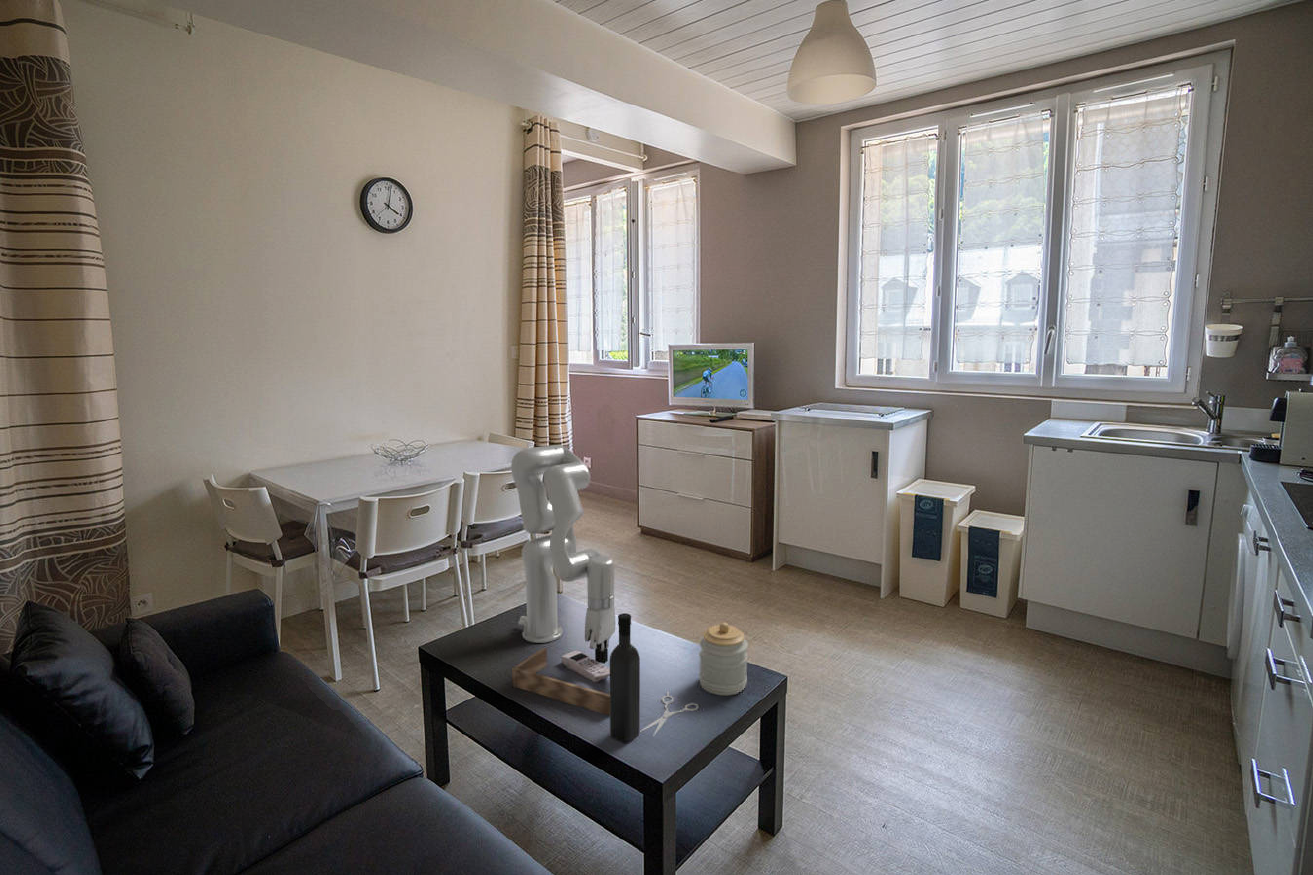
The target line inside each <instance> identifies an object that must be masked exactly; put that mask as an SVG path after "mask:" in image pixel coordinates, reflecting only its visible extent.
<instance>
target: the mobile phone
mask: <svg viewBox="0 0 1313 875" xmlns="http://www.w3.org/2000/svg"><path fill="white" fill-rule="evenodd" d="M561 663H563V665H565V666H566V667H567V669H568V670H572V671H574V672H575V673H577V674H579V675H581V676H582V675H583V676H582V677H584V678H586V679H588V680H590V681H592V682H593V683H598V682H600V681H602V680H604V679H606V678H608V677H610V667H607V666H606V665H605V664H603V663H599V662H597V661H595V659H593V658H592V657H591V656H589V655H587V654H586V653H583V652H582V651H578V650H574V651H571V652H569V653H566V654H564V655H562V656H561Z"/></svg>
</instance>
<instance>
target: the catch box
mask: <svg viewBox="0 0 1313 875" xmlns="http://www.w3.org/2000/svg"><path fill="white" fill-rule="evenodd" d="M547 652H548V650H547V648H546V647H542V649H540V650H538V651H537V652H535V653H534V654H532V655H530V656H529V657H528V658H526V659H525V660H523V661H522V662H520V663H519V664H518V665H516V666H514V667H513V668H512V669H511V670H512V671H511V672H512V687H515V688H518V689H521V690H523V691H528V692H530V693H535V694H538V695H540V696H544V697H547V698H551V699H553V700H558V701H561V702H565V703H567V704H571V705H574V706H577V707H581V708H584V709H586V710H591V711H593V710H594V711H593V712H597V713H600V714H603V715H607V716H610V693H606V692H602V691H598V690H595V689H592V688H588V687H585V686H582V685H578V684H574V683H571V682H569V681H568V682H567V681H564V680H562V679H561V680H560V679H557V678H554V677H551V676H546V675H543V674H539V673H537V672H539V671H540V670H541V669H542V670H543V668H544V667H546V666H547V665H548V664H547V662H548V661H547V660H548V659H547V658H548V656H547Z"/></svg>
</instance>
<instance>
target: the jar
mask: <svg viewBox="0 0 1313 875" xmlns="http://www.w3.org/2000/svg"><path fill="white" fill-rule="evenodd" d="M745 637H746V636H745V634H744V632H743V631H742V630H740V629H739V628H737V627H735V626H734V625H733V626H732V625H729V624H728V623H727V622H721V623H720V624H716V625H713V626H710V627H709V628H707V629H705V630H704V632H703V633H702V638H701V639H700V641H699V645H700V648H701V650H700V651H699V674H698V675H699V677H698V679H699V684H700V686H701V688H702V689H703V690H705V691H706V692H708V693H710V694H713V695H715V696H734V695H737V694H740V693H741V692H743V691H744V690H745V689H746V687H747V683H748V682H747V681H748V676H747V665H748V664H747V662H748V654H747V649H748V647H749V645H748V642H747V640H746V638H745ZM745 686H746V687H745ZM744 688H745V689H744ZM742 690H743V691H742ZM739 692H740V693H739Z"/></svg>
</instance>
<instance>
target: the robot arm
mask: <svg viewBox="0 0 1313 875" xmlns="http://www.w3.org/2000/svg"><path fill="white" fill-rule="evenodd" d="M510 468H511V476H512V478H513V480H514V481H513V482H514V484H515V486H516V489H517V493H518V500H519V507H520V515H521V521H522V525H523V526H522V527H523V529H524V531H525V532H526V533H528V534H531V535H536V534H541V533H547V532H550V531H551V534H548V535H544V536H540V537H535V538H533V539H531V540H528V541H527V542H526V543H525V544H524V545H523V547H522V550H521V556H522V557H521V558H522V562H523V566H524V572H525V589H526V597H525V598H526V615H520V618H519V621H518V625H519V626H523V627H524V629H523V630H522V632H521V634H522V638H523V639H524V640H525V641H527V642H530V643H535V644H536V643H537V644H539V643H541V644H543V643H550V642H554V641H555V640H556V641H557V640H558V639H559V638H561V637H562V636H563V633H564V632H563V627H561V625H559V623H558V583H557V582H558V580H557V577H558V578H559V579H560V581H562V582H564V583H571V582H575V581H578V580H580V579H581V580H582V579H584V578H586V579H587V584H586V585H587V586H586V587H587V591H586V592H587V608H586V611H585V612H586V613H585V622H584V641H585V642H587V643H588V642H589V649H591V650H594V658H595V659H594V660H595V661H597V662H599V663H600V664H602V665H605V664H606V663H607V662H608V660H609V658H608V656H609V655H608V653H609V649H608V648H609V646H610V645H609V643H610V638H611V637H612V636H613V635H614V634H615V632H616V608H615V563H614V560H613V559H612V558H611V557H609V556H605V555H603V554H602V553H600V552H599V551H598V550H596V549H594V548H593V549H592V548H588V549H584V550H581V551H577V541H576V534H575V526H574V524H576V523H577V522H578V521H579V520H580V519H582V517H583V516H584V509H583V506H582V502H581V500H580V495H579V493H578V491H579V490H584V489H586V488H588V487H589V485H591V484H590V483H591V473H590V470H589V468H588V466H587V465H586V464H585V463H584V461H583V460H582V459H580V458H579V457H578V456H577V455H576V454H574V453H573V451H571V449H569V448H567V447H566V446H565V445H561V444H553V445H545V446H536V447H530V448H529V447H528V448H525V449H522V450H520V451H517V452H516V453H515V454H514V456H513V457H512V460H511V464H510ZM539 475H543V481H542V480H541V479H540V477H538V476H539ZM543 482H544V483H543ZM552 567H553V568H554V570H555V573H556V575H557V577H556V576H555V574H554V573H553V571H552V570H551V568H552Z"/></svg>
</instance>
